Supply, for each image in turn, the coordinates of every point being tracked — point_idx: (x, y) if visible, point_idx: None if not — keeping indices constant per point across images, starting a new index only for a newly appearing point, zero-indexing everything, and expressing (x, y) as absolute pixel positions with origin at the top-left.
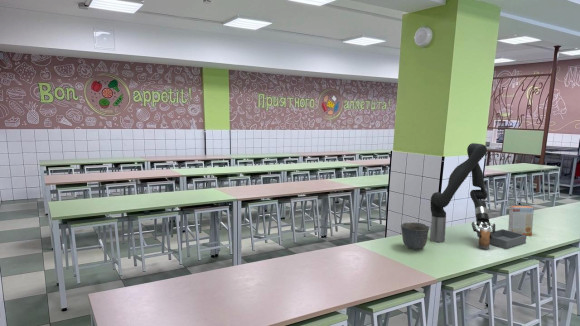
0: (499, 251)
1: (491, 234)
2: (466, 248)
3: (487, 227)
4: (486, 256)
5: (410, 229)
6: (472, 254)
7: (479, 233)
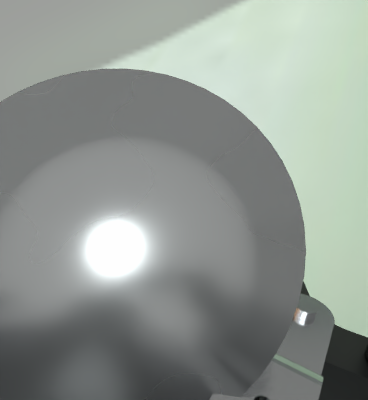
0: None
1: None
2: (353, 283)
3: (3, 250)
4: (219, 88)
5: None
6: (328, 121)
7: None
